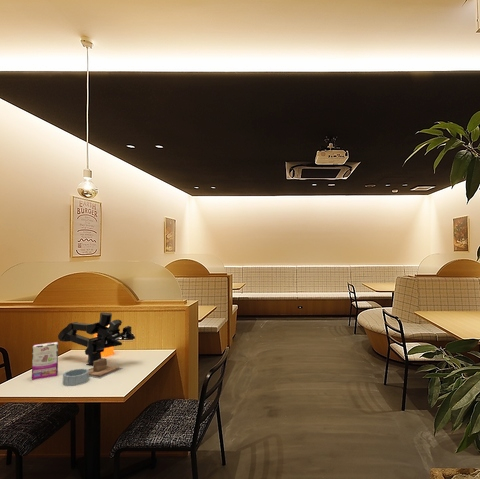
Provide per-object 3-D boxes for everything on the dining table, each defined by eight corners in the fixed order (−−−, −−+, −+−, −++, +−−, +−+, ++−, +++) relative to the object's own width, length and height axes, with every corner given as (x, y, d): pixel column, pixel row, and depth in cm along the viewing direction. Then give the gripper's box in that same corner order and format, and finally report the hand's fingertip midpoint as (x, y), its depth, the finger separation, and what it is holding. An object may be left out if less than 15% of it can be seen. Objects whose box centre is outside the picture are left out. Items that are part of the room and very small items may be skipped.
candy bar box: (57, 373, 168) (58, 341, 169) (57, 376, 163) (58, 343, 164) (32, 377, 163) (33, 344, 164) (31, 380, 158) (32, 346, 159)
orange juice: (103, 357, 195) (104, 324, 196) (93, 356, 199) (93, 323, 200) (113, 354, 202) (114, 321, 203) (103, 352, 206) (104, 320, 207)
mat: (75, 375, 165) (75, 374, 165) (99, 365, 180) (99, 365, 180) (99, 379, 159) (100, 378, 159) (122, 369, 174) (122, 368, 174)
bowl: (57, 384, 152) (57, 375, 152) (76, 377, 162) (77, 367, 163) (74, 387, 148) (75, 377, 148) (93, 379, 158) (93, 370, 159)
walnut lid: (80, 374, 166) (80, 362, 166) (99, 366, 178) (100, 355, 178) (100, 377, 161) (100, 365, 161) (118, 368, 173) (118, 357, 173)
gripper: (93, 324, 170) (115, 332, 163) (121, 314, 187) (141, 321, 180) (93, 344, 171) (114, 353, 165) (120, 332, 188) (140, 340, 181)
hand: (128, 340), depth 173 cm, fingers open, 9 cm apart
